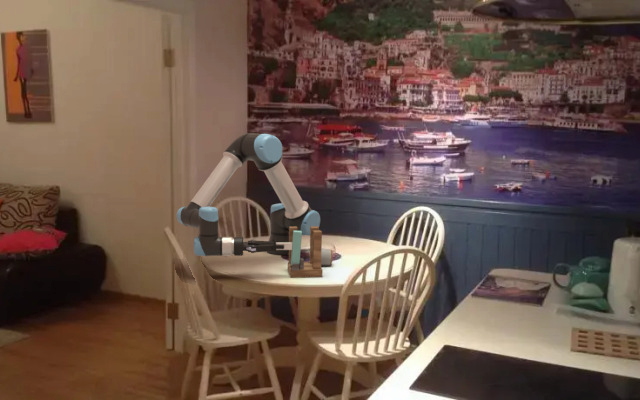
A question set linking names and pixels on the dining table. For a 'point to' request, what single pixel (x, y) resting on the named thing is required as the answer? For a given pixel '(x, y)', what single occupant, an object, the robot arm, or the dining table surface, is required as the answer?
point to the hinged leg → (296, 247)
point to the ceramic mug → (326, 257)
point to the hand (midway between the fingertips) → (292, 246)
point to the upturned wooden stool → (314, 265)
